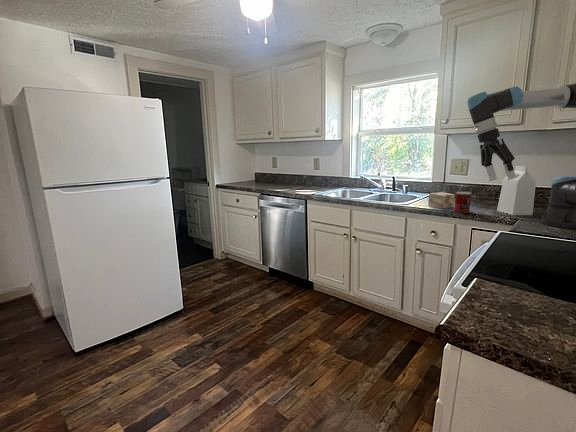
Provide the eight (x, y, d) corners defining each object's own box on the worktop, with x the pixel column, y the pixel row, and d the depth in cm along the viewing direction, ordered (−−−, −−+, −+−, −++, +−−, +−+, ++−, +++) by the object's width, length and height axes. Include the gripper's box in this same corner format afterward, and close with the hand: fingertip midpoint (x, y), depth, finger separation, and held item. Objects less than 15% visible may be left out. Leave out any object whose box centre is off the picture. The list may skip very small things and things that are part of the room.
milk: (532, 214, 172) (540, 167, 167) (512, 215, 172) (520, 167, 166) (515, 210, 184) (522, 165, 178) (496, 210, 183) (503, 165, 177)
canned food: (460, 213, 178) (463, 193, 175) (450, 210, 185) (453, 191, 183) (472, 212, 179) (475, 193, 177) (462, 209, 187) (464, 191, 184)
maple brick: (440, 204, 203) (441, 192, 201) (453, 207, 194) (454, 194, 192) (428, 205, 200) (429, 193, 198) (441, 208, 191) (442, 195, 189)
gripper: (464, 139, 143) (478, 183, 144) (494, 128, 118) (511, 181, 119) (481, 133, 142) (495, 177, 143) (514, 120, 117) (531, 174, 118)
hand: (502, 179), depth 131 cm, fingers open, 13 cm apart
